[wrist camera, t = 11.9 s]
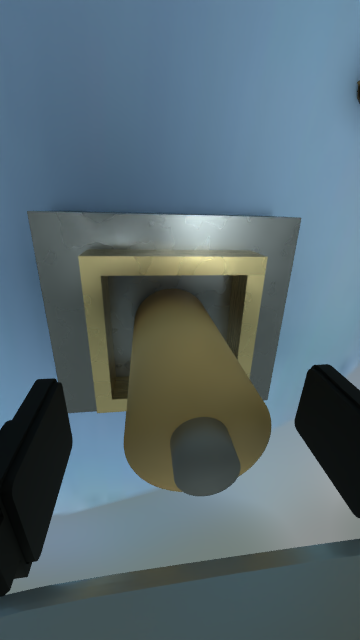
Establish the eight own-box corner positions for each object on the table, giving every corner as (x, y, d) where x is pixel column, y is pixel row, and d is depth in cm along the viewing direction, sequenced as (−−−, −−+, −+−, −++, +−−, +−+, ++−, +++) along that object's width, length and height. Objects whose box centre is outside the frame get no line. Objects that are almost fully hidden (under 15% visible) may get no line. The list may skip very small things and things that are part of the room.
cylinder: (132, 288, 17) (115, 410, 6) (209, 288, 17) (304, 398, 7) (135, 357, 19) (125, 536, 8) (204, 354, 19) (274, 517, 9)
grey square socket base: (51, 210, 18) (4, 211, 12) (272, 216, 20) (326, 219, 14) (76, 381, 23) (53, 439, 17) (249, 372, 25) (281, 422, 19)
